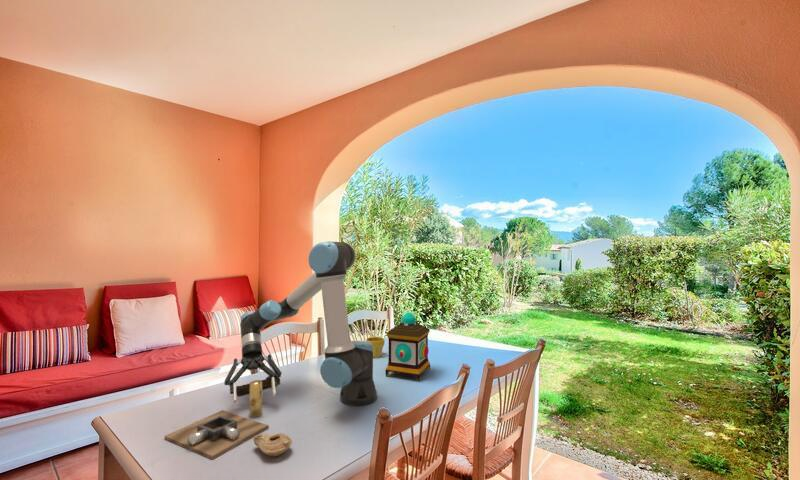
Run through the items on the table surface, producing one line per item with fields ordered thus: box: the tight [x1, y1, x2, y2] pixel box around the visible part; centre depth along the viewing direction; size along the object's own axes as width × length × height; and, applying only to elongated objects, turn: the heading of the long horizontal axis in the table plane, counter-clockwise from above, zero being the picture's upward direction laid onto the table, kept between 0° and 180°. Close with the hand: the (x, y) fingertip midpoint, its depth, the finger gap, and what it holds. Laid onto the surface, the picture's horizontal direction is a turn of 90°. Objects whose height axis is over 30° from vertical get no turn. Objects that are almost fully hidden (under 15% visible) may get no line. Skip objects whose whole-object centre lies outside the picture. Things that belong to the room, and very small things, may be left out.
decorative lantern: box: [385, 312, 431, 382], centre depth 182 cm, size 20×20×30 cm
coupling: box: [248, 379, 263, 418], centre depth 137 cm, size 4×4×12 cm
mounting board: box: [164, 409, 270, 460], centre depth 123 cm, size 24×21×1 cm
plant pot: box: [365, 336, 386, 359], centre depth 209 cm, size 10×10×10 cm
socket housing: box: [187, 415, 240, 446], centre depth 118 cm, size 13×13×3 cm
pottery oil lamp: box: [253, 432, 293, 457], centre depth 113 cm, size 9×12×7 cm
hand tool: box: [236, 375, 281, 397], centre depth 161 cm, size 19×4×5 cm, turn 132°
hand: (255, 398), depth 136 cm, fingers open, 13 cm apart
